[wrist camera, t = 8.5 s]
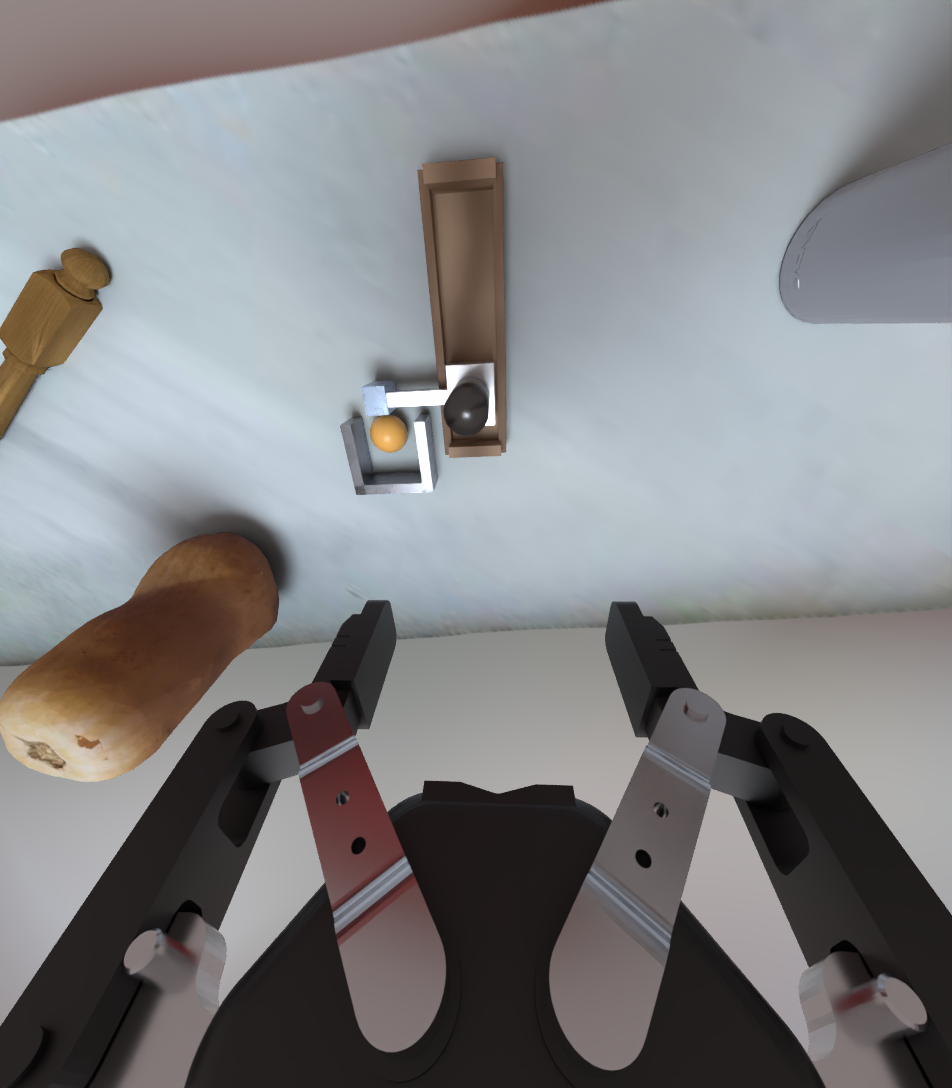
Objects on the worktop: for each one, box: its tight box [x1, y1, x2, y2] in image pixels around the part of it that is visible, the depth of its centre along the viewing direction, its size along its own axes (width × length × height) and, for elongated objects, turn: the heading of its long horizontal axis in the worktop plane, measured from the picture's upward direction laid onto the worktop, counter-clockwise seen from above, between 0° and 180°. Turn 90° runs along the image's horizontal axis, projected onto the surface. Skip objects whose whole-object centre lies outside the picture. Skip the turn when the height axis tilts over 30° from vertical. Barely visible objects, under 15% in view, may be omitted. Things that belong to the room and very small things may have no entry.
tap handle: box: [0, 248, 110, 439], centre depth 35 cm, size 3×3×30 cm
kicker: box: [361, 360, 495, 436], centre depth 31 cm, size 12×5×11 cm, turn 93°
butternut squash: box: [0, 532, 279, 782], centre depth 37 cm, size 14×13×25 cm
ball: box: [370, 415, 408, 453], centre depth 36 cm, size 4×4×4 cm
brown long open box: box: [418, 157, 506, 458], centre depth 32 cm, size 6×20×4 cm, turn 3°
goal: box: [340, 414, 438, 495], centre depth 37 cm, size 8×7×4 cm
